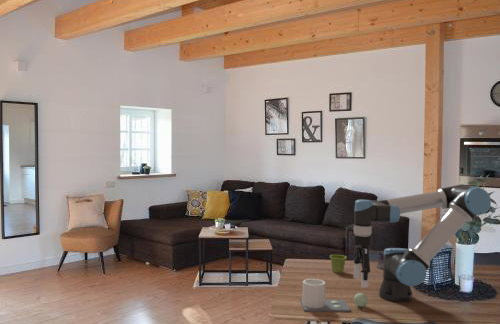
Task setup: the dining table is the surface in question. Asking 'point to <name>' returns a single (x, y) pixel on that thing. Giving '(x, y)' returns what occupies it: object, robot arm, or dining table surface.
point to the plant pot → (338, 263)
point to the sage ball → (360, 299)
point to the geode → (380, 261)
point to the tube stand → (320, 298)
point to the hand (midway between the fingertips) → (360, 282)
